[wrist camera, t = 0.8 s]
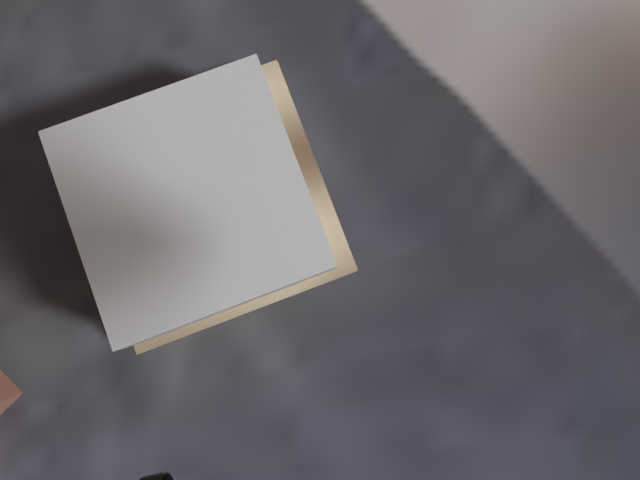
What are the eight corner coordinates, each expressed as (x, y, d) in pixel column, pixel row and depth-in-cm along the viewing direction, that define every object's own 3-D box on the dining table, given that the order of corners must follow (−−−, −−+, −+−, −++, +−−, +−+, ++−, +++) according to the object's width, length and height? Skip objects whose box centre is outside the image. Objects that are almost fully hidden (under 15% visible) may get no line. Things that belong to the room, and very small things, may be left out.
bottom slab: (353, 272, 23) (358, 270, 21) (156, 347, 23) (136, 354, 20) (280, 83, 24) (276, 59, 21) (88, 153, 23) (61, 137, 21)
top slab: (334, 269, 21) (337, 266, 18) (137, 344, 20) (112, 351, 18) (262, 81, 21) (256, 53, 19) (70, 150, 21) (37, 131, 18)
